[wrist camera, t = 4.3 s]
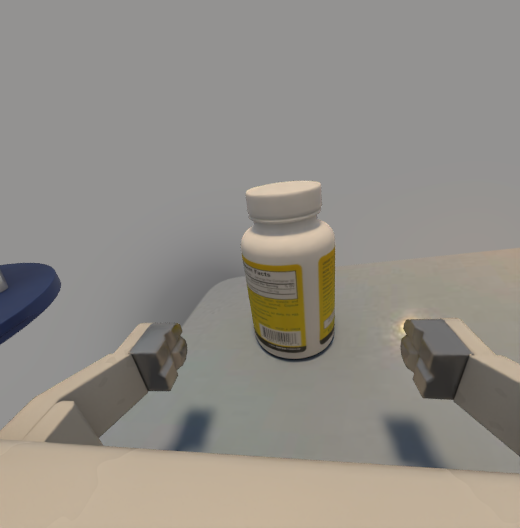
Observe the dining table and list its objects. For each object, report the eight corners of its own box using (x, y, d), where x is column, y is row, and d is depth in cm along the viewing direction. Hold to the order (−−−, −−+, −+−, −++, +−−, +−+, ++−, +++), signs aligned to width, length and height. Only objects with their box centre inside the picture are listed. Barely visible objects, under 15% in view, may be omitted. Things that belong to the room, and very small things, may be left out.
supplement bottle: (310, 301, 20) (307, 175, 16) (351, 346, 15) (361, 183, 11) (246, 319, 19) (224, 188, 15) (269, 374, 14) (245, 203, 10)
